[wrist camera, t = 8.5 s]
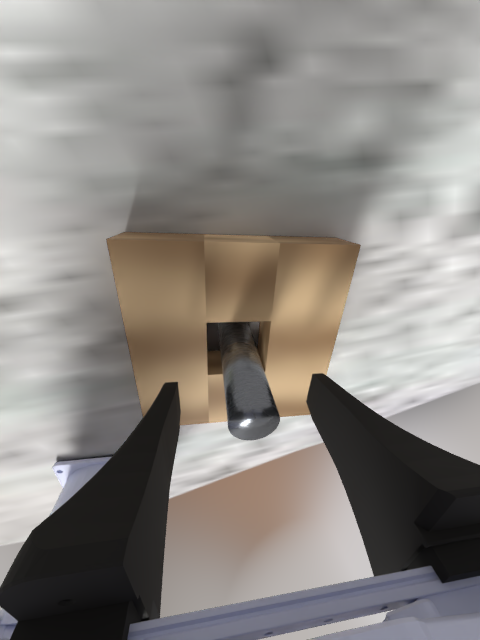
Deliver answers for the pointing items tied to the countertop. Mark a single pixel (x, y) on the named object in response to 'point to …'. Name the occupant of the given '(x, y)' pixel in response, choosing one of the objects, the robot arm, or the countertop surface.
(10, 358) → the countertop surface
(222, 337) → the pin
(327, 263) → the tan slotted block
